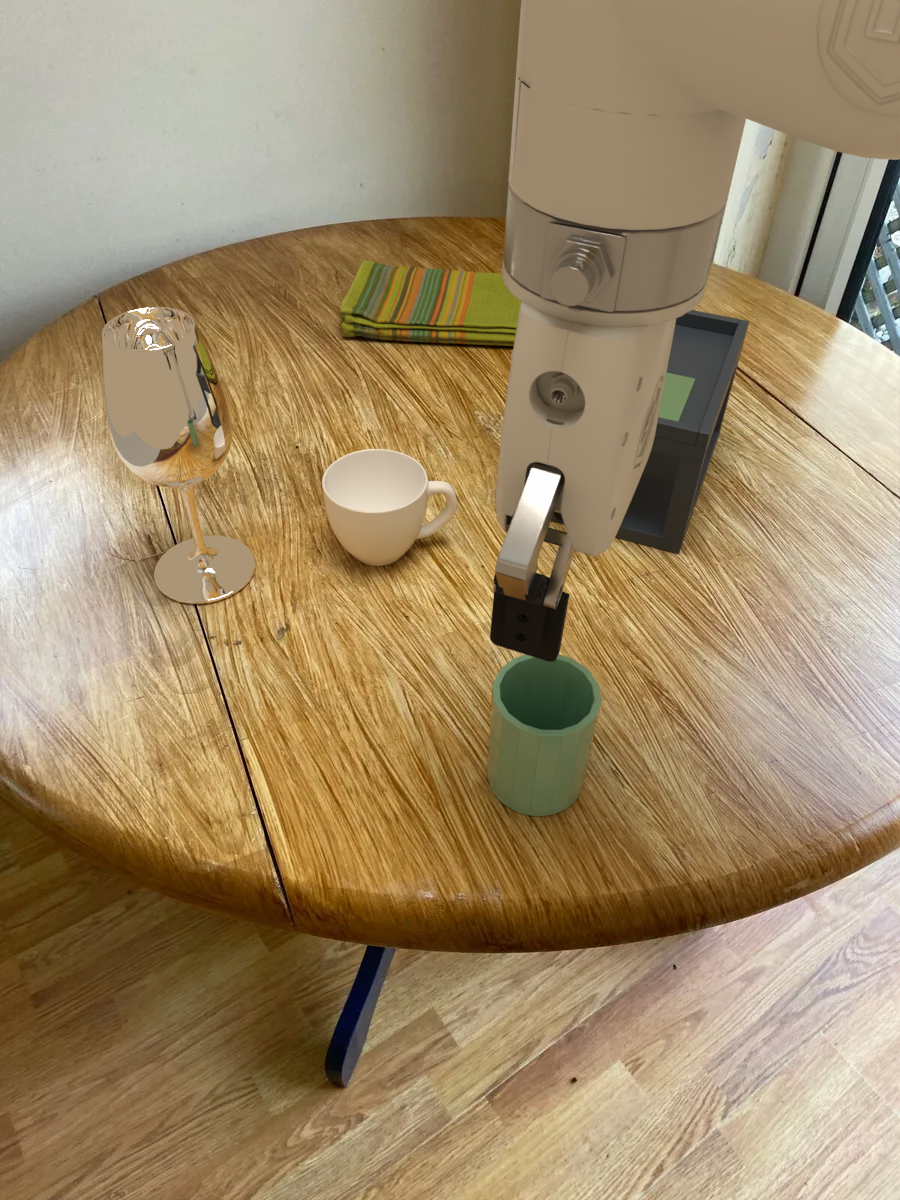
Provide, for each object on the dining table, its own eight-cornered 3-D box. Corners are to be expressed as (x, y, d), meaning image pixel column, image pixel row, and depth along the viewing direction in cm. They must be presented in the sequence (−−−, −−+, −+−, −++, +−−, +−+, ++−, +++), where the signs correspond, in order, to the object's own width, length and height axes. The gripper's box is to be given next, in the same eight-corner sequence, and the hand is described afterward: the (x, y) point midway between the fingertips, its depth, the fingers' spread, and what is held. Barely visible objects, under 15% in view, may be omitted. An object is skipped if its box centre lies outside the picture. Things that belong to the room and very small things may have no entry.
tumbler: (594, 753, 57) (612, 670, 52) (567, 830, 53) (583, 749, 48) (505, 724, 59) (513, 640, 53) (472, 796, 55) (477, 714, 49)
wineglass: (226, 617, 65) (170, 370, 51) (132, 591, 67) (53, 346, 53) (275, 549, 71) (237, 309, 57) (187, 527, 72) (129, 289, 58)
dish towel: (360, 275, 105) (358, 247, 103) (670, 290, 103) (676, 263, 101) (338, 340, 94) (335, 311, 92) (684, 359, 92) (691, 330, 90)
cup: (326, 521, 73) (319, 452, 69) (448, 511, 74) (449, 442, 70) (331, 586, 68) (324, 516, 63) (463, 574, 69) (466, 504, 64)
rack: (719, 434, 83) (749, 320, 75) (678, 554, 71) (709, 434, 63) (572, 401, 87) (586, 289, 79) (510, 510, 75) (520, 391, 67)
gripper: (656, 379, 26) (579, 737, 38) (749, 177, 38) (668, 501, 50) (417, 325, 28) (416, 682, 40) (575, 148, 39) (537, 467, 51)
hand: (555, 581), depth 45 cm, fingers open, 9 cm apart
